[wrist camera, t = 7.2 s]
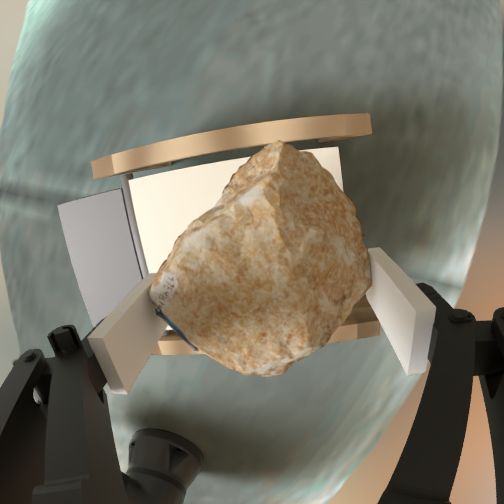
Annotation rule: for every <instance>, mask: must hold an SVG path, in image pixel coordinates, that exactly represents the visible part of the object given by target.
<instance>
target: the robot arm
mask: <svg viewBox="0 0 504 504" xmlns="http://www.w3.org/2000/svg"><path fill="white" fill-rule="evenodd" d="M368 254H369V260H370V265H371V279H372V285H371V287H370V288H369V289H368V290H367V292H366V298H367V300H368V301H369V303H370V305H371V307H372V309H373V311H374V312H375V314H376V316H377V318H378V320H379V322H380V324H381V325H382V327H383V329H384V331H385V333H386V335H387V337H388V339H389V341H390V343H391V345H392V347H393V349H394V351H395V352H396V354H397V356H398V358H399V360H400V362H401V365H402V367H403V369H404V371H405V373H406V375H407V376H410V375H414V374H418V373H423V372H425V371H426V367H427V362H428V360H429V361H430V363H431V366H430V370H429V374H428V377H427V381H426V385H425V388H424V391H423V395H422V398H421V402H420V404H419V408H418V411H417V414H416V417H415V420H414V422H413V425H412V428H411V431H410V434H409V436H408V439H407V442H406V444H405V447H404V449H403V452H402V454H401V457H400V459H399V461H398V464H397V466H396V468H395V471H394V473H393V475H392V477H391V479H390V481H389V484H388V486H387V488H386V489H385V491H384V492H383V494H382V496H381V498H380V500H379V502H378V504H451V502H449V497H450V493H451V490H452V486H453V483H454V479H455V476H456V472H457V468H458V464H459V460H460V456H461V451H462V447H463V442H464V438H465V432H466V427H467V421H468V414H469V408H470V401H471V393H472V383H473V376H479V380H480V384H481V388H482V392H483V397H484V402H485V406H486V412H487V416H488V422H489V428H490V434H491V441H492V449H493V456H494V467H495V477H496V495H497V496H496V497H497V504H504V307H502V308H499V309H497V310H495V312H494V314H493V319H492V321H476V319H475V317H474V315H472V313H470V312H468V311H466V310H462V309H453V308H452V307H451V306H450V305H449V304H448V303H447V302H446V301H445V300H444V299H443V298H442V296H441V295H440V294H439V293H437V291H436V290H435V289H434V288H433V287H431V286H429V285H427V284H425V283H418V284H415V283H414V282H413V281H412V280H411V279H410V278H409V277H408V276H407V275H406V274H405V273H404V272H403V271H402V269H401V268H400V267H399V266H398V265H397V264H396V263H395V262H394V261H393V260H392V259H391V258H390V257H389V256H388V255H387V254H386V253H385V252H384V251H383V250H382V249H381V248H380V247H377V248H368ZM156 274H157V273H149V274H148V275H147V276H146V277H145V278H144V279H143V280H142V281H141V282H140V283H139V284H138V285H137V286H136V287H135V288H134V289H133V290H132V291H131V292H130V293H129V294H128V295H127V296H126V297H125V298H124V299H123V300H122V301H121V302H120V303H119V304H118V305H117V306H116V307H115V308H114V310H113V311H112V312H111V313H110V314H109V315H108V316H107V317H105V318H104V319H102V320H101V321H100V322H99V323H98V324H97V325H96V327H94V328H93V329H92V330H91V332H89V333H88V334H87V335H86V337H85V338H84V339H83V340H82V341H81V340H80V338H79V335H78V333H77V331H76V328H75V326H73V325H65V326H61V327H58V328H56V329H55V330H53V331H52V332H51V333H49V335H48V339H49V342H50V344H51V346H52V348H53V350H54V353H55V357H52V358H45V357H44V355H43V352H42V350H40V349H33V350H31V349H30V350H28V351H26V352H25V353H24V354H23V355H21V356H20V358H19V359H18V360H17V362H16V364H15V365H14V367H13V368H12V370H11V372H10V373H9V375H8V376H7V378H6V379H5V381H4V383H3V384H2V386H1V388H0V504H183V502H184V498H185V494H186V490H187V489H188V487H189V486H190V485H191V483H192V482H193V481H194V479H195V478H196V477H197V475H198V474H199V473H200V471H201V469H202V465H203V456H202V454H201V452H200V451H199V450H198V448H197V447H195V446H194V445H193V444H192V443H190V442H189V441H187V440H185V439H184V438H182V437H180V436H177V435H175V434H172V433H169V432H166V431H162V430H155V429H144V430H140V431H137V432H136V433H135V434H134V435H133V437H132V439H131V441H130V443H129V459H128V470H127V472H126V474H125V473H123V472H121V470H120V466H119V461H118V457H117V452H116V448H115V443H114V437H113V432H112V427H111V421H110V415H109V408H108V402H107V395H106V393H105V391H104V389H103V387H104V386H105V384H106V383H108V385H109V387H110V389H111V391H112V393H119V394H128V393H129V391H130V389H131V387H132V386H133V384H134V382H135V380H136V379H137V377H138V375H139V374H140V372H141V370H142V368H143V367H144V365H145V363H146V362H147V360H148V358H149V356H150V355H151V353H152V351H153V350H154V348H155V346H156V345H157V343H158V341H159V340H160V338H161V336H162V335H163V333H164V331H165V330H166V328H167V326H168V324H167V323H166V322H165V321H164V320H163V319H162V318H160V317H159V316H157V315H156V312H155V309H157V308H158V307H157V306H156V305H154V304H153V303H152V301H151V298H150V295H149V289H150V286H151V285H152V283H153V280H154V276H155V275H156ZM33 391H34V393H35V394H36V396H37V397H38V399H39V400H38V403H36V402H35V400H34V398H33Z"/></svg>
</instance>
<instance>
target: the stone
mask: <svg viewBox="0 0 504 504" xmlns="http://www.w3.org/2000/svg"><path fill="white" fill-rule="evenodd" d="M363 236H364V235H363V233H362V231H361V225H360V222H359V220H358V218H357V217H356V206H355V204H354V203H353V202H352V201H351V200H350V199H349V198H348V197H347V196H346V195H345V194H344V192H343V191H342V190H341V189H340V188H339V186H338V185H337V183H336V182H335V179H334V177H333V176H332V174H331V173H330V172H329V171H328V170H327V169H325V168H323V167H322V166H321V164H320V163H319V161H318V160H317V159H316V158H315V156H314V155H313V153H311V152H308V151H298V150H296V149H295V148H294V147H293V146H292V145H288V144H286V143H284V142H282V141H281V140H278V141H276V142H274V143H272V144H269V145H266V146H263V149H262V150H261V151H259V152H258V153H256V154H254V155H253V156H251V157H250V158H249V159H248V161H247V162H246V163H245V164H243V165H241V166H240V167H239V168H238V170H237V172H236V173H234V174H232V176H231V178H230V182H229V183H228V184H227V185H226V186H225V188H224V190H223V192H222V196H221V198H220V199H219V200H218V201H217V203H216V205H215V206H214V207H213V208H211V209H210V210H208V211H207V212H205V213H204V214H202V215H201V216H199V217H198V218H197V219H195V220H193V221H192V222H191V223H190V224H189V225H188V226H187V229H186V230H185V231H184V232H183V233H182V234H181V235H180V236H178V238H177V239H176V241H175V243H174V245H173V249H172V251H171V252H170V254H169V255H168V257H167V259H166V260H165V261H164V262H163V263H162V265H161V266H160V268H159V270H158V272H157V274H156V275H155V276H154V280H153V283H152V285H151V286H150V289H149V295H150V298H151V301H152V303H153V304H154V305H156V306H157V307H158V308H157V309H155V312H156V315H157V316H159V317H160V318H162V319H163V320H164V321H165V322H166V323H167V324H168V325H169V326H170V327H171V328H172V329H173V330H174V331H175V332H176V333H177V334H178V336H180V337H181V338H182V339H183V340H184V341H185V342H186V343H187V344H188V345H189V346H190V347H191V348H192V349H193V350H194V351H199V350H198V349H200V350H201V351H202V352H204V353H205V354H206V355H208V356H209V357H210V358H212V359H214V360H216V361H217V362H219V363H221V364H223V365H225V366H226V367H228V368H230V369H232V370H237V371H239V372H241V373H242V374H244V375H248V376H251V375H255V374H257V375H260V376H264V377H270V376H274V375H282V374H284V373H285V372H286V371H287V369H288V367H290V366H291V365H292V364H293V363H294V362H295V361H298V360H301V359H303V358H304V357H306V356H307V355H309V354H311V353H312V352H314V351H315V350H317V349H319V348H321V347H323V346H324V345H326V344H327V343H328V341H329V339H330V338H331V336H332V334H333V333H334V332H335V331H336V329H337V328H338V327H339V326H341V325H342V324H343V323H344V322H345V320H346V318H347V317H348V316H349V315H350V313H351V310H352V307H353V305H355V304H356V303H357V302H358V301H359V300H360V299H361V298H362V297H363V296H364V294H365V293H366V292H367V290H368V289H369V288H370V287H371V285H372V279H371V265H370V260H369V254H368V249H367V248H366V247H365V245H364V244H363Z"/></svg>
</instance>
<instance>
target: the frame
mask: <svg viewBox="0 0 504 504" xmlns="http://www.w3.org/2000/svg"><path fill="white" fill-rule="evenodd" d="M369 134H372V127H371V120H370V114H369V113H358V114H340V115H326V116H314V117H304V118H294V119H285V120H277V121H270V122H262V123H255V124H249V125H242V126H236V127H230V128H224V129H219V130H213V131H208V132H203V133H198V134H193V135H188V136H184V137H179V138H175V139H170V140H166V141H162V142H158V143H154V144H150V145H146V146H142V147H138V148H134V149H131V150H127V151H123V152H120V153H116V154H113V155H110V156H106V157H103V158H100V159H96V160H93V161H91V165H92V171H93V177H94V179H99V178H104V177H109V176H115V175H120V174H126V173H131V172H137V171H143V170H150V169H156V168H161V167H165V166H170V165H172V161H176V160H181V159H186V158H191V157H196V156H202V155H207V154H212V153H218V152H224V151H230V150H236V149H242V148H249V147H256V146H263V145H269V144H272V143H274V142H276V141H278V140H281V141H282V142H284V143H286V142H294V141H304V140H313V139H318V143H322V142H333V141H339V140H344V139H349V138H354V137H359V136H364V135H369ZM379 335H380V322H379V320H378V318H377V316H376V314H375V312H374V311H373V309H372V307H371V305H370V303H369V301H368V300H367V298H366V294H364V296H363V297H362V298H361V299H360V300H359V301H358V302H357V303H356V304H355V305H353V307H352V310H351V313H350V315H349V316H348V317H347V318H346V320H345V322H344V323H343V324H342V325H341V326H339V327H338V328H337V329H336V331H335V332H334V333H333V334H332V336H331V338H330V339H329V341H328V343H333V342H340V341H347V340H354V339H360V338H367V337H373V336H379ZM198 350H199V351H194V350H193V349H192V348H191V347H190V346H189V345H188V344H187V343H186V342H185V341H184V340H183V339H182V338H181V337H180V336H178V334H177V333H176V332H175V331H174V330H170V333H169V334H168V335H164V336H161V338H160V340H159V341H158V343H157V345H156V346H155V348H154V350H153V351H152V353H151V355H180V354H205V353H204V352H202V351H201V350H200V349H198Z"/></svg>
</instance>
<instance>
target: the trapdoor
mask: <svg viewBox="0 0 504 504" xmlns="http://www.w3.org/2000/svg"><path fill="white" fill-rule="evenodd" d="M300 151H308V152H311V153H313V155H314V156H315V158H316V159H317V160H318V161H319V163H320V164H321V166H322V167H323V168H325V169H327V170H328V171H329V172H330V173H331V174H332V176H333V177H334V179H335V182H336V183H337V185H338V186H339V188H340V189H341V190H342V191H343V184H342V175H341V166H340V158H339V150H338V147H330V148H319V149H309V150H300ZM249 158H250V157H246V158H240V159H233V160H227V161H221V162H215V163H210V164H204V165H199V166H193V167H188V168H183V169H178V170H173V171H168V172H163V173H159V174H154V175H150V176H145V177H141V178H136V179H133V174H132V173H130V174H126V175H122V176H120V177H121V183H122V188H118V189H114V190H110V191H106V192H102V193H98V194H94V195H90V196H87V197H83V198H80V199H76V200H73V201H70V202H67V203H63V204H60V205H58V210H59V215H60V219H61V223H62V228H63V232H64V236H65V240H66V243H67V247H68V251H69V255H70V258H71V262H72V265H73V268H74V272H75V275H76V278H77V281H78V285H79V288H80V291H81V294H82V297H83V300H84V303H85V305H86V308H87V311H88V314H89V316H90V319H91V322H92V324H93V327H96V325H97V324H98V323H99V322H100V321H101V320H102V319H104V318H105V317H107V316H108V315H109V314H110V313H111V312H112V311H113V310H114V308H115V307H116V306H117V305H118V304H119V303H120V302H121V301H122V300H123V299H124V298H125V297H126V296H127V295H128V294H129V293H130V292H131V291H132V290H133V289H134V288H135V287H136V286H137V285H138V284H139V283H140V282H141V281H142V280H143V279H144V278H145V277H146V276H147V275H148V274H149V273H157V272H158V270H159V268H160V266H161V265H162V263H163V262H164V261H165V260H166V259H167V257H168V255H169V254H170V252H171V251H172V249H173V245H174V243H175V241H176V239H177V238H178V236H180V235H181V234H182V233H183V232H184V231H185V230H186V229H187V226H188V225H189V224H190V223H191V222H192V221H193V220H195V219H197V218H198V217H199V216H201V215H202V214H204V213H205V212H207V211H208V210H210V209H211V208H213V207H214V206H215V205H216V203H217V201H218V200H219V199H220V198H221V196H222V192H223V190H224V188H225V186H226V185H227V184H228V183H229V182H230V178H231V176H232V174H234V173H236V172H237V170H238V168H239V167H240V166H241V165H243V164H245V163H246V162H247V161H248V159H249ZM170 330H173V329H172V328H171V327H170V326H169V325H168V326H167V328H166V330H165V331H164V333H163V335H162V336H164V335H168V334H169V333H170Z"/></svg>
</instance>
